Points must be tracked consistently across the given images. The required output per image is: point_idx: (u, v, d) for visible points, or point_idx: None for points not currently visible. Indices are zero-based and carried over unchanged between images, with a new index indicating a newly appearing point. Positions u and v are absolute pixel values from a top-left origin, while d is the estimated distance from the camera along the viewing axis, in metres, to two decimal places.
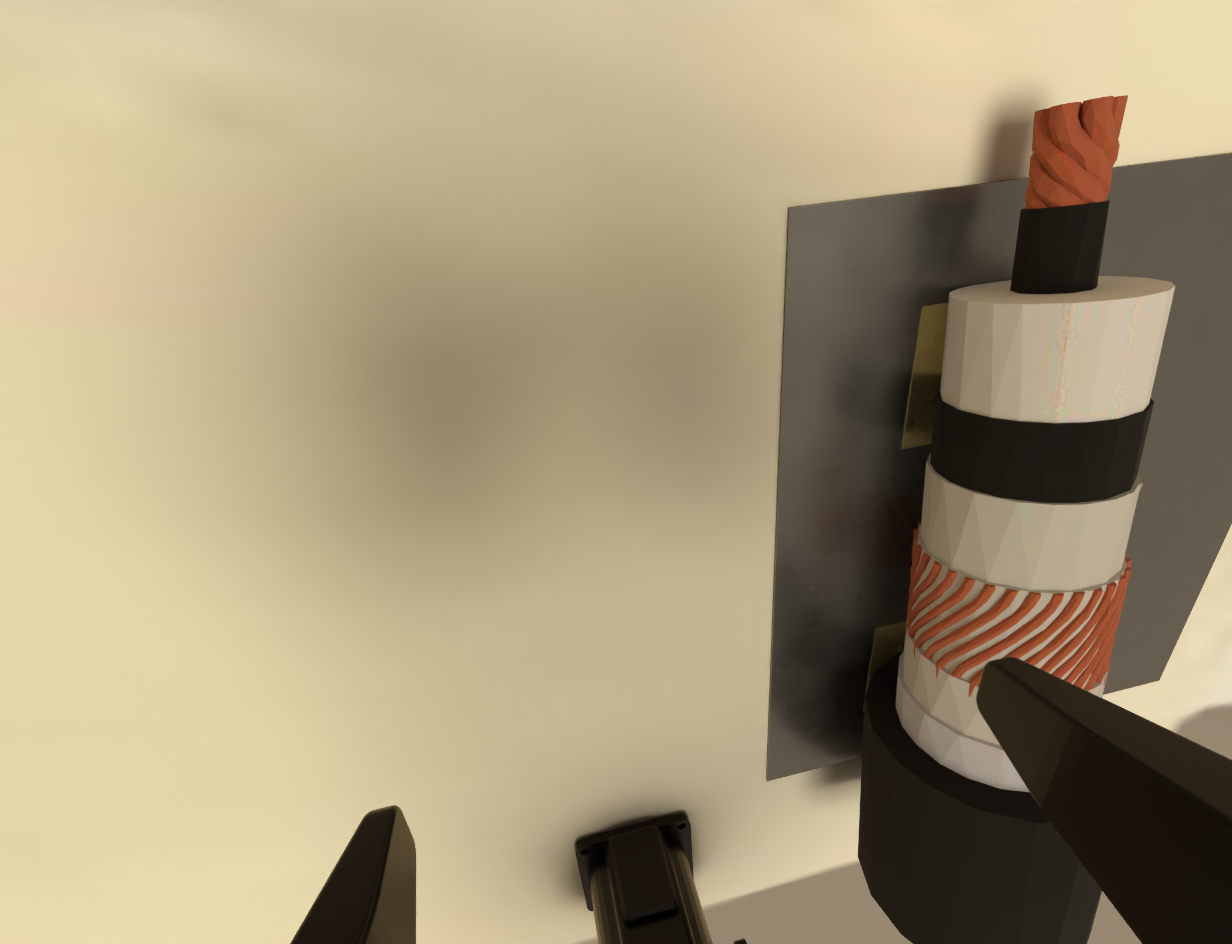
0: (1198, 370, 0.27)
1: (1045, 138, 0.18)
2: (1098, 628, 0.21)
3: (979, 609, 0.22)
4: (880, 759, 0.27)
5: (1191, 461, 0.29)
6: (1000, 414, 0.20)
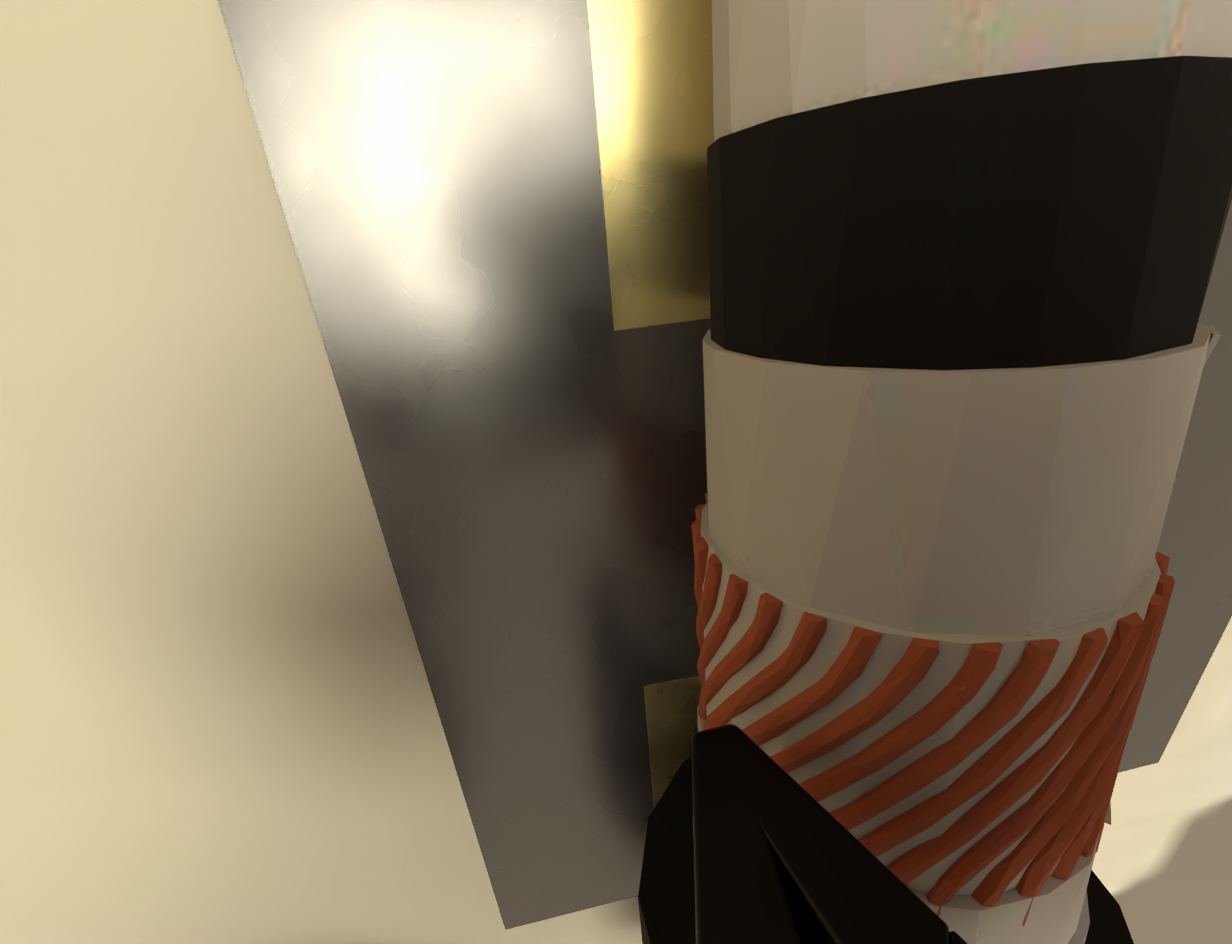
0: None
1: None
2: (1092, 736, 0.08)
3: (795, 677, 0.09)
4: None
5: (1217, 392, 0.16)
6: (814, 93, 0.06)
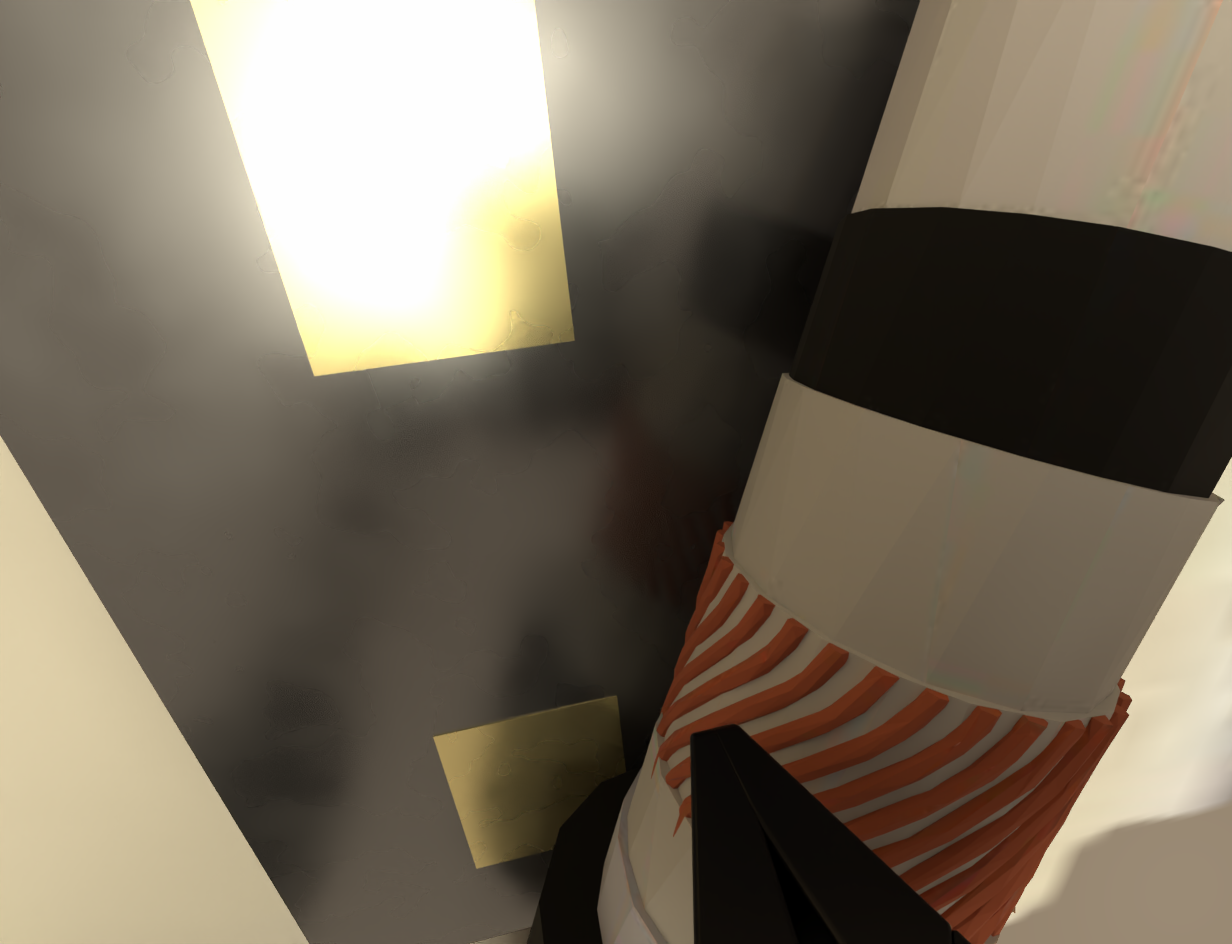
0: None
1: None
2: (1040, 817, 0.09)
3: (797, 703, 0.09)
4: None
5: None
6: (984, 198, 0.07)
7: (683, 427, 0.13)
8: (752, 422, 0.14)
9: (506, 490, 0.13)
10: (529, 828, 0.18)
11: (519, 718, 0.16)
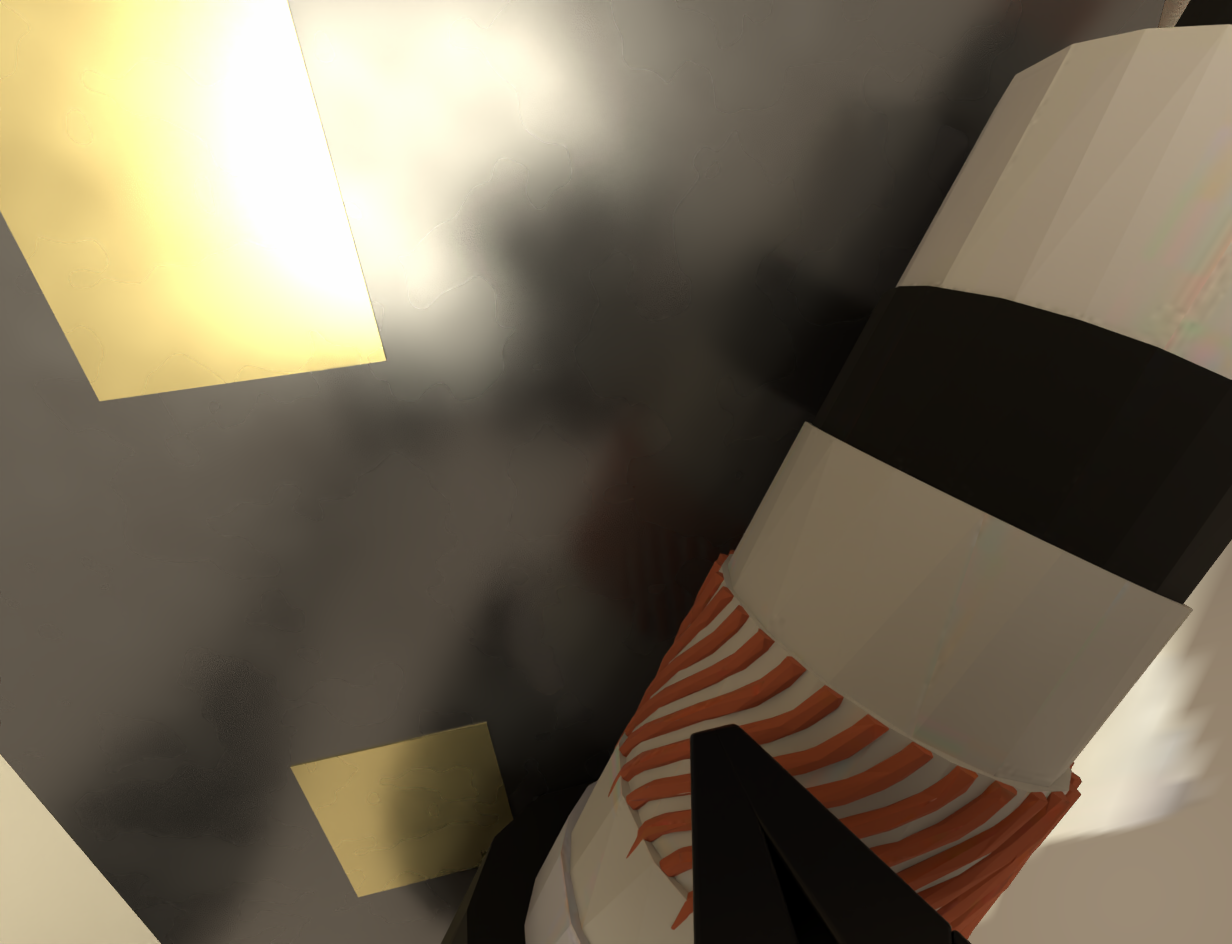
0: (849, 237, 0.12)
1: None
2: (990, 881, 0.09)
3: (783, 739, 0.09)
4: None
5: None
6: (1040, 297, 0.08)
7: (521, 448, 0.13)
8: (598, 441, 0.13)
9: (333, 516, 0.13)
10: (410, 856, 0.18)
11: (384, 746, 0.16)
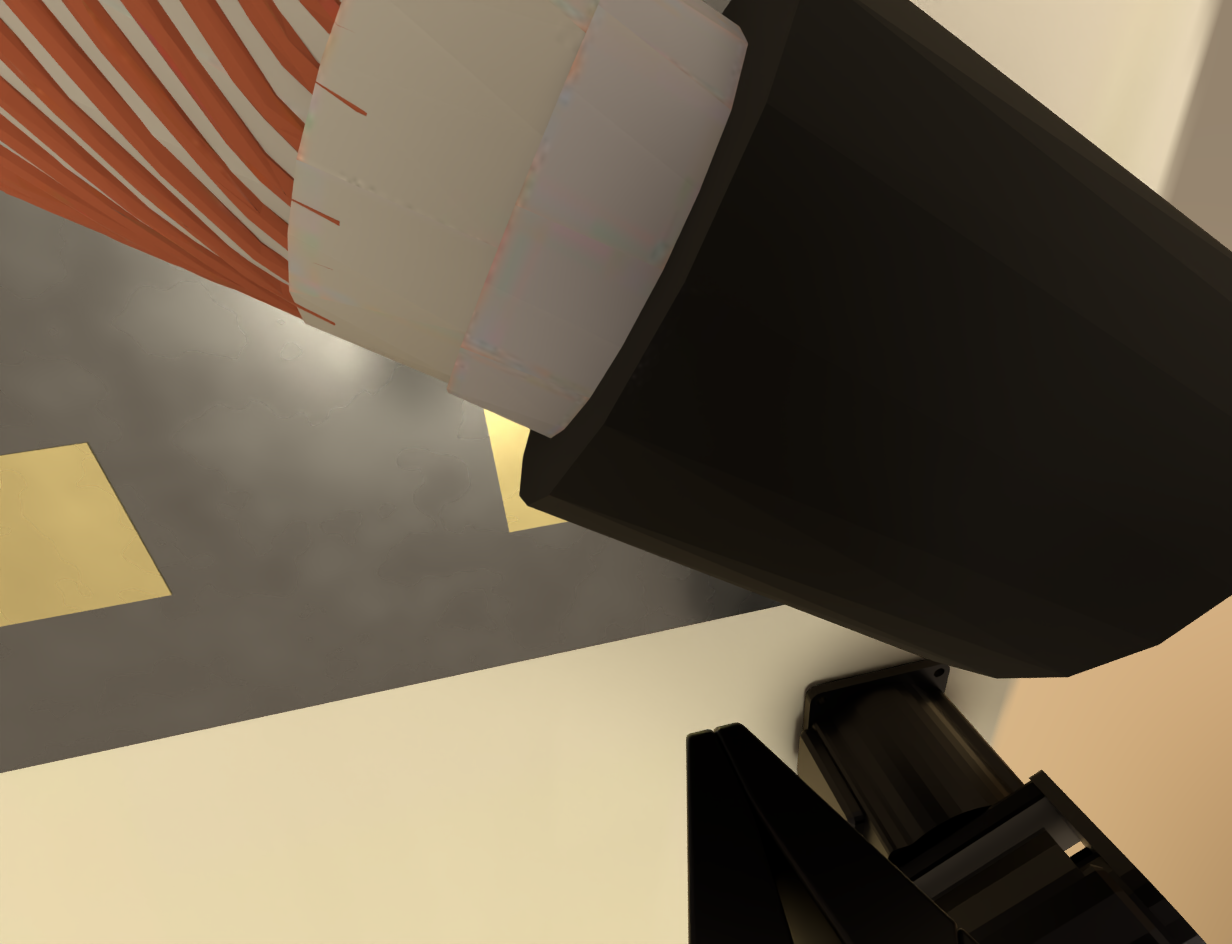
0: None
1: None
2: None
3: (53, 194, 0.08)
4: None
5: None
6: None
7: (144, 345, 0.15)
8: (122, 274, 0.14)
9: (243, 484, 0.17)
10: None
11: (501, 466, 0.18)
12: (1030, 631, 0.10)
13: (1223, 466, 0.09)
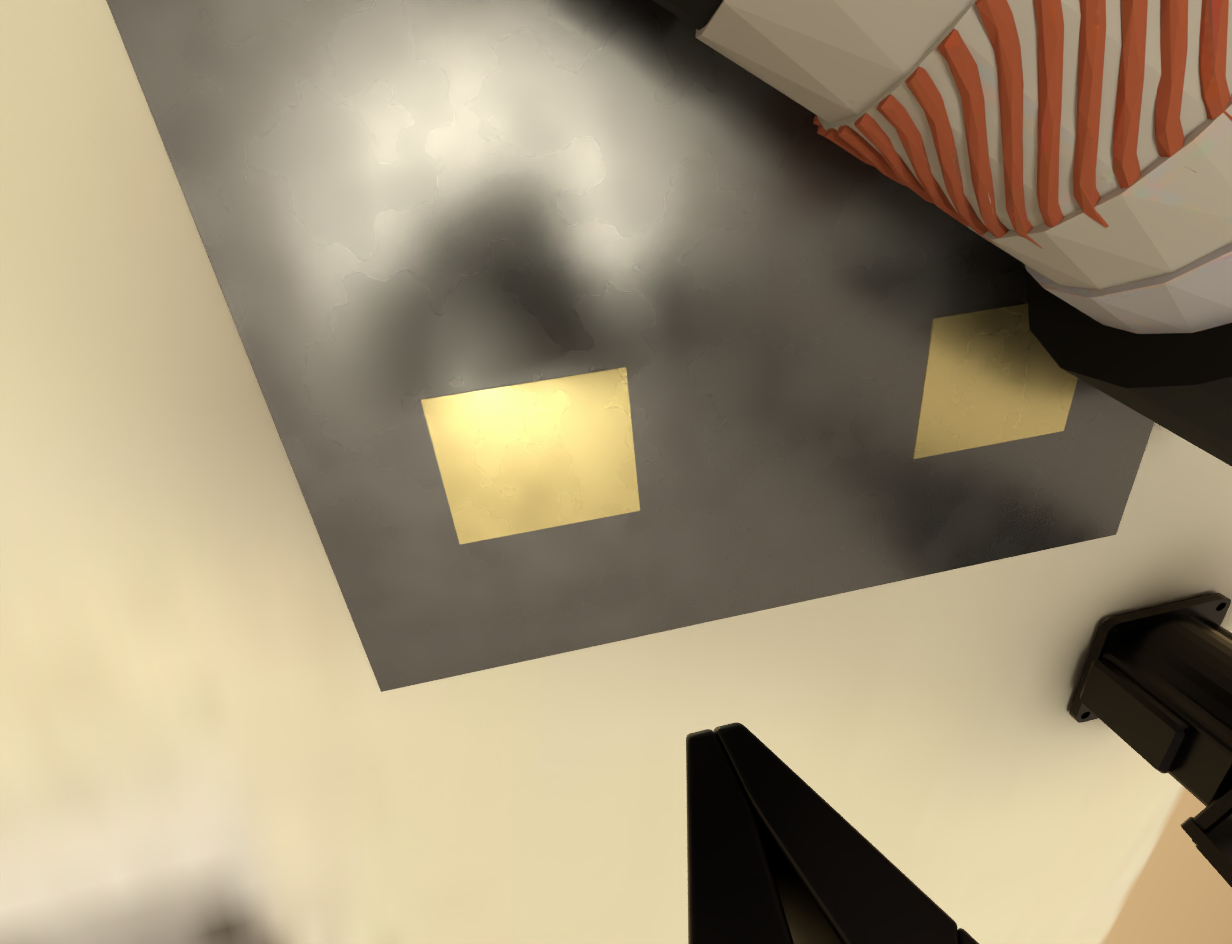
0: None
1: None
2: None
3: (950, 119, 0.11)
4: (1112, 392, 0.15)
5: None
6: None
7: (696, 280, 0.17)
8: (699, 216, 0.16)
9: (726, 409, 0.19)
10: (1043, 388, 0.21)
11: (924, 396, 0.20)
12: None
13: None
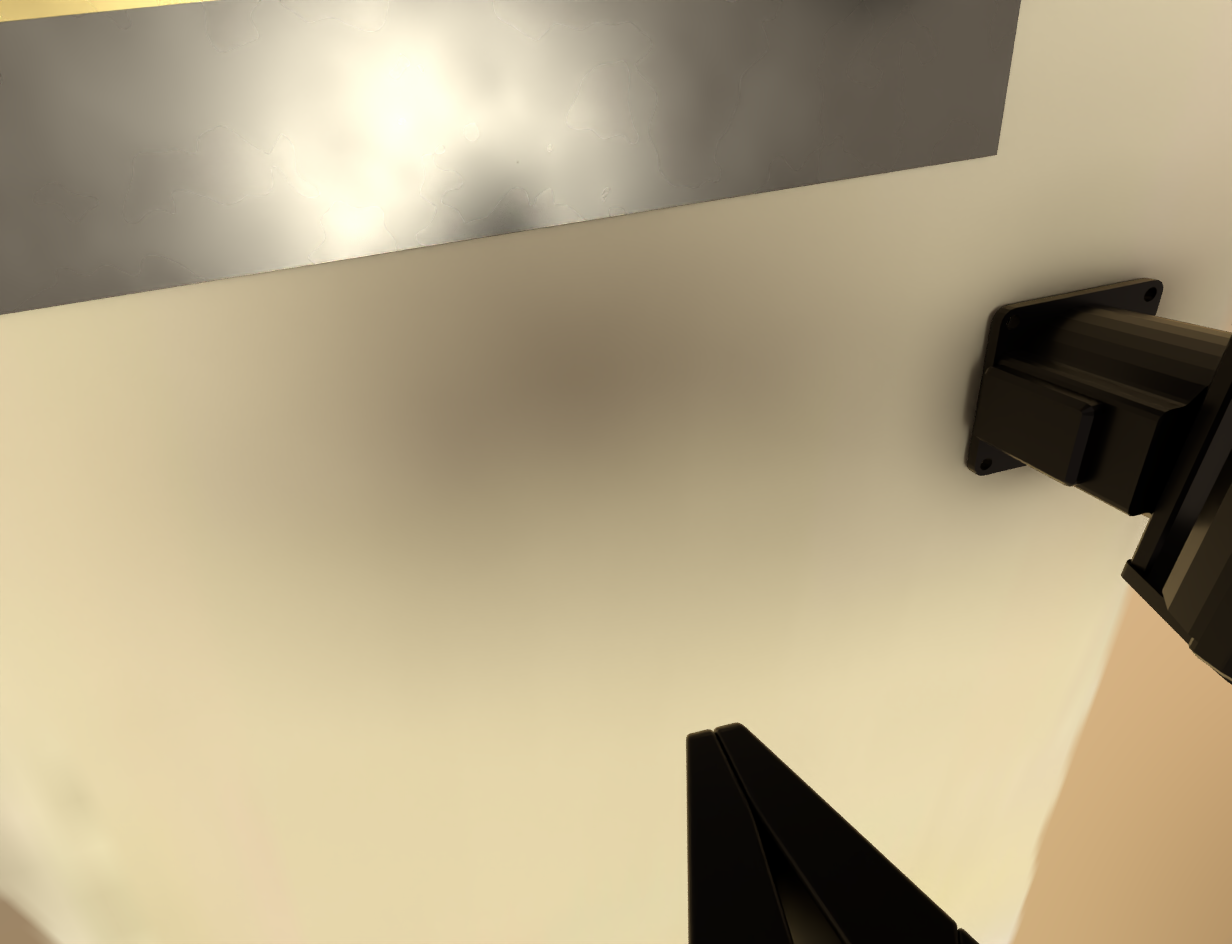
0: None
1: None
2: None
3: None
4: None
5: None
6: None
7: None
8: None
9: None
10: None
11: None
12: None
13: None
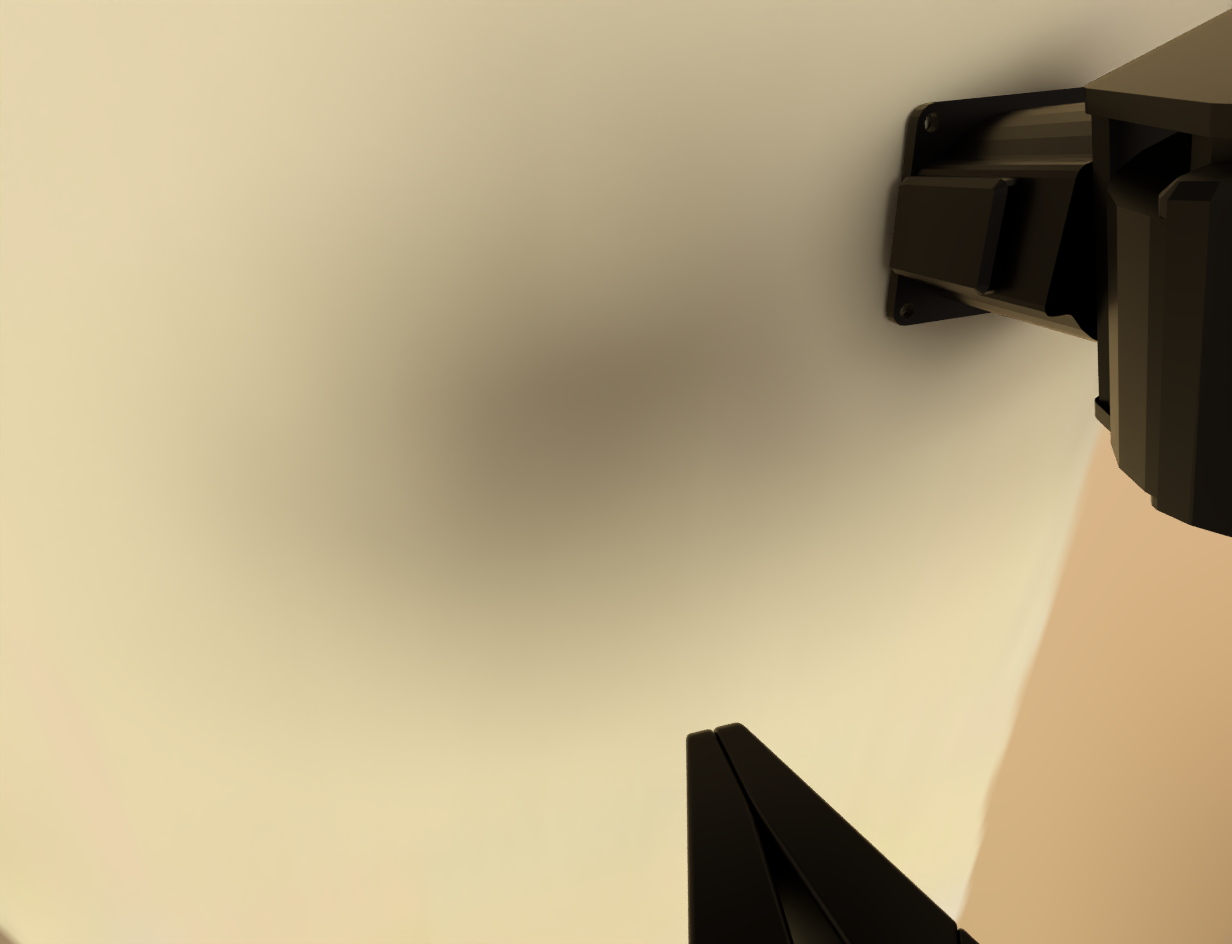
0: None
1: None
2: None
3: None
4: None
5: None
6: None
7: None
8: None
9: None
10: None
11: None
12: None
13: None
